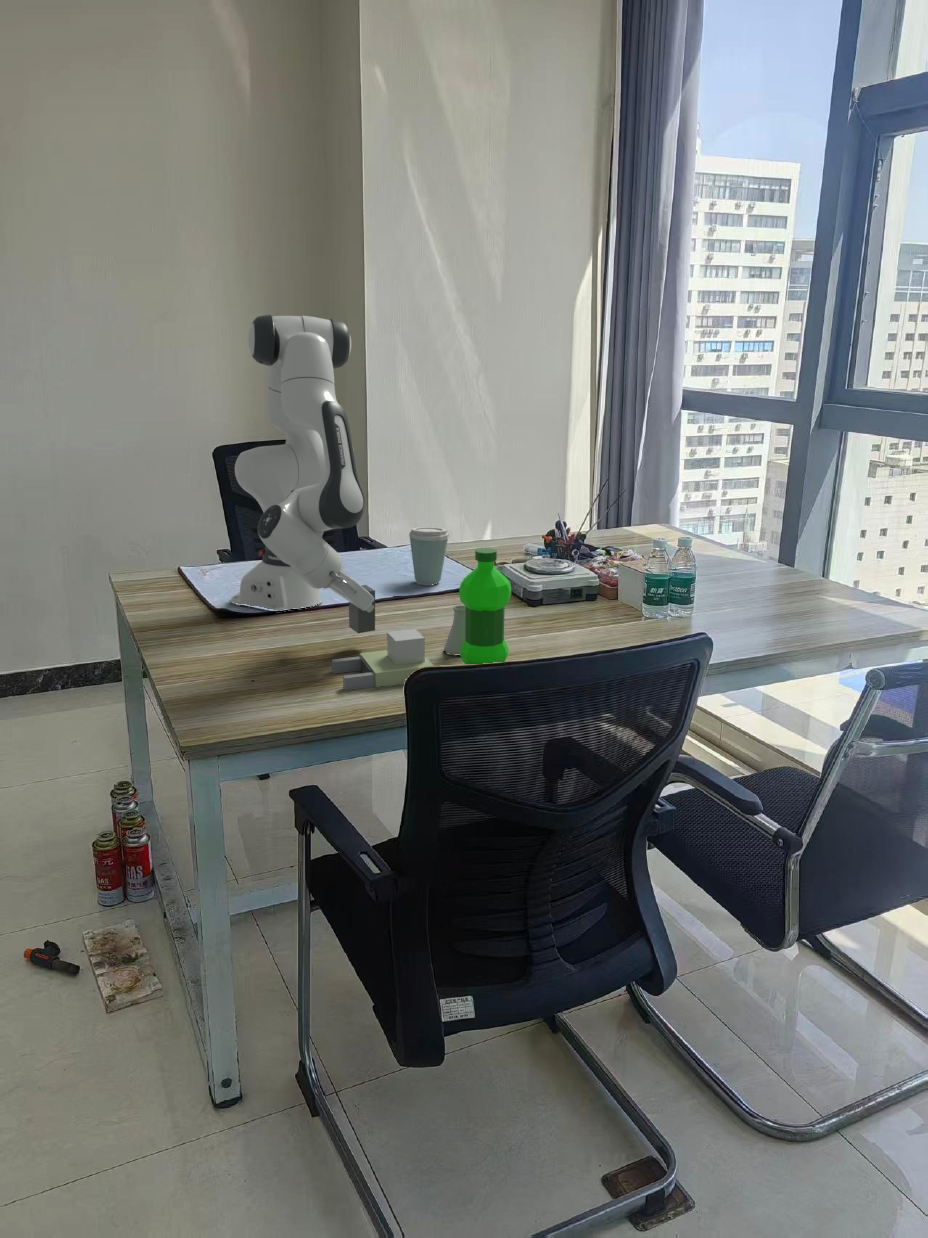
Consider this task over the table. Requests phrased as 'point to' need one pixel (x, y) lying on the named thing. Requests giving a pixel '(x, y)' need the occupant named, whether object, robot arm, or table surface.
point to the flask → (456, 631)
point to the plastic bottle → (484, 611)
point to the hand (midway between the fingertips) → (364, 605)
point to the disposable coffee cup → (428, 553)
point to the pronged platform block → (385, 662)
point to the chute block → (362, 616)
